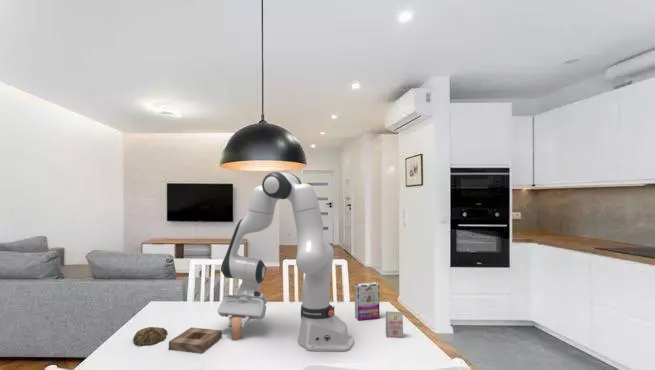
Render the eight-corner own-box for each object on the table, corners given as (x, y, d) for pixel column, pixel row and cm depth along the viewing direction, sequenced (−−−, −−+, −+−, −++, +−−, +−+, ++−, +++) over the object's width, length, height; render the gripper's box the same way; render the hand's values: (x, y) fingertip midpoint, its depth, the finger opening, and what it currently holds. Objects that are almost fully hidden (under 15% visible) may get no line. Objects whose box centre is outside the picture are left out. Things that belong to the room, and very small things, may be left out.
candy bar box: (375, 315, 164) (375, 281, 165) (379, 318, 159) (379, 284, 160) (354, 317, 161) (354, 282, 162) (358, 321, 156) (358, 285, 157)
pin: (243, 336, 138) (243, 317, 138) (238, 340, 134) (239, 320, 134) (234, 335, 139) (234, 316, 139) (229, 339, 135) (229, 319, 135)
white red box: (385, 333, 142) (385, 309, 142) (401, 334, 142) (401, 310, 142) (386, 337, 138) (386, 312, 139) (403, 338, 138) (403, 313, 138)
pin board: (221, 337, 137) (221, 330, 137) (202, 353, 123) (202, 345, 123) (191, 334, 139) (191, 327, 140) (168, 349, 126) (168, 341, 126)
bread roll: (135, 336, 139) (135, 323, 139) (168, 331, 143) (168, 320, 143) (129, 349, 127) (130, 335, 127) (165, 344, 131) (166, 331, 131)
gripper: (222, 290, 146) (209, 321, 136) (266, 293, 142) (256, 326, 132) (227, 298, 150) (215, 328, 140) (270, 301, 146) (261, 333, 136)
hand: (235, 327), depth 136 cm, fingers closed on pin, 4 cm apart
